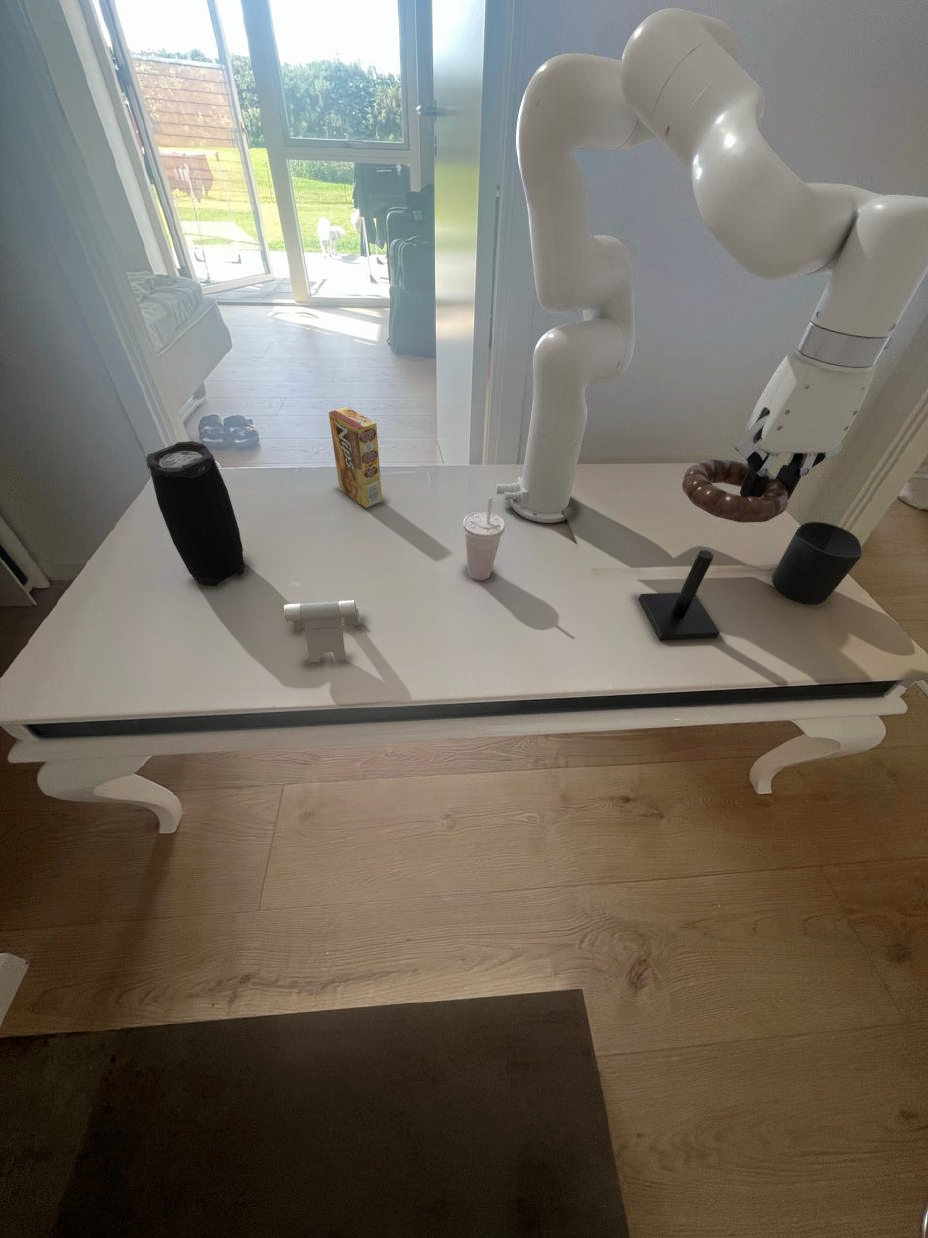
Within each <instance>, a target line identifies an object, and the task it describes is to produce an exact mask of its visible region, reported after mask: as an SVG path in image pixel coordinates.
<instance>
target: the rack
mask: <svg viewBox="0 0 928 1238" xmlns="http://www.w3.org/2000/svg"><path fill="white" fill-rule="evenodd" d="M714 557H715V556H714V553H712V552H711V551H710V550H707V549H706V550H705V549H702V550H699V551H698V553H697V555H696V557H695V560H694V562H693V564H692V565H691V569H690V570H689V573H688V575H687V577H686V579H685V581H684V583H683V585H682V588H681V590H680V592H659V593H658V592H656V593H640V594H639V596H638V601H639V603H640V606H641V607H642V610H643V611H644V613H645V616H646V617H647V619H648V621H649V624H650V625H651V627H652V629H653V631H654V633H655V635H656V637H657V639H658V641H675V640H678V641H679V640H703V639H717V638H718V636H719V635H720V630H719V629H718V627H717V626H716V624H715V623H714V621H713V619H712V618H711V616H710V615H709V613H708V612H707V610H706V608H705V607H704V605H703V604H702V602H701V600H700V599H699V597H698V595H696V594H697V592H698V590H699V588H700V586H701V584H702V583H703V581H704V578H705V576H706V574H707V572H708V570H709V567H710V566H711V564H712V562H713V560H714Z"/></svg>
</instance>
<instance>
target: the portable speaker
mask: <svg viewBox="0 0 928 1238" xmlns="http://www.w3.org/2000/svg"><path fill="white" fill-rule="evenodd" d="M146 462H147V463H146V466H147V468H148V469H149V471H150V476H151V479H152V480H151V481H152V484H153V489H154V492H155V497H156V502H157V505H158V507H159V510H160V513H161V515H162V518H163V520H164V524H165V525H166V529H167V530H168V533H169V535H170V538H171V540H172V543H173V545H174V547H175V548H176V551H177V552H178V555H179V557H180V558H181V560H182V562H183V563H184V565H185V567H186V569H187V571H188V572H189V574H190V575H191V577H192V578H193V580H194V582H196V583H198V584H200V585H201V586H205V587H217V586H218V585H219V584H220V583H221V582H223V581H225V580H227V579H229V578H231V577H233V576H235V575H239V576H241V575H242V574H244V572H245V567H246V564H245V561H244V548H243V543H242V538H241V533H240V528H239V524H238V521H237V518H236V515H235V510H234V507H233V504H232V501H231V497H230V494H229V490H228V488H227V486H226V483H225V481H224V478H223V476H222V474H221V472H220V469H219V467H218V465H217V462H216V460H215V458H214V456H213V454H212V453H211V451H210V450H209V449H208V447H207V446H206V445H205V444H204V443H201V442H197V441H194V440H193V441H191V440H190V441H188V440H187V441H178V442H176V443H174V444H173V445H170V446H169V445H168V446H167V447H164V448H162V449H160V450H157V451H155V452H151V453H148V454H147V456H146Z"/></svg>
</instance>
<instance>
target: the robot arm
mask: <svg viewBox="0 0 928 1238" xmlns="http://www.w3.org/2000/svg"><path fill="white" fill-rule="evenodd" d="M766 99H767V98H766V94H765V92H764V90H763V88H762V87H761V86H760V84H759V83H758V82H756V81H755V80H754V79H753V78H752V76H750V75H749V74H748V73H747V71H746V70H745V69H744V68H743V67H742V66H741V65H740V47H739V44H738V40H737V38H736V35H735V33H734V31H733V29H732V28H731V26H729V25H728V24H727V23H726V22H725V21H723V20H722V19H719V18H716V17H714V16H710V15H707V14H702V13H699V12H694V11H691V10H687V9H684V8H678V7H669V8H663V9H659V10H658V11H656V12H653V13H652V14H650V15H649V16H647V17H646V18H645V19H644V20H642V21H641V22H640V23H639V24H638V26H637V27H636V28H635V29H634V31H633V32H632V34H630V36H629V39H628V41H627V42H626V44H625V47H624V50H623V52H622V56H621V59H617V58H610V57H605V56H602V55H596V54H590V53H581V52H569V53H562V54H559V55H556V56H553V57H551V58H549V59H548V60H546V61H545V62H544V63H543V64H541V65H539V67H538V69H536V71H535V72H534V73H533V75H532V77H531V78H530V80H529V82H528V85H527V86H526V89H525V90H524V94H523V96H522V101H521V103H520V107H519V111H518V116H517V124H516V138H515V139H516V140H515V141H516V155H517V163H518V167H519V174H520V177H521V182H522V187H523V191H524V192H523V193H524V196H525V201H526V206H527V209H526V210H527V216H528V225H529V226H528V227H529V229H528V230H529V239H530V248H531V250H530V251H531V258H532V268H533V269H532V270H533V279H534V286H535V287H534V288H535V293H536V298H537V301H538V303H539V305H540V307H541V308H542V309H543V310H544V311H545V312H547V313H550V314H554V315H563V314H570V313H577V312H582V314H583V320H578V321H573V322H567V323H564V324H560V325H557V326H555V327H553V328H551V329H549V330H548V331H546V332H545V333H544V334H543V335H542V336H541V337H540V338H539V340H538V342H537V343H536V345H535V348H534V350H533V355H532V376H533V392H532V403H531V404H532V405H531V406H532V407H531V411H530V412H531V413H530V419H529V420H530V421H529V428H528V434H527V441H526V449H525V454H524V455H525V456H524V462H523V468H522V476H518V477H517V482H512V483H511V484H507V483H496V484H495V489H494V491H495V495H503V500H504V501H510V505H511V507H512V509H513V510H514V512H516V513H517V514H518V515H519V516H521V517H523V518H525V519H527V520H529V521H532V522H533V521H534V522H537V523H543V524H554V523H560V522H564V521H566V520H568V519H567V516H566V513H565V511H564V510H565V509H566V508H568V506H569V503H570V499H571V494H572V490H573V486H574V481H575V477H576V472H577V467H578V464H579V459H580V455H581V449H582V446H583V441H584V436H585V433H586V427H587V423H588V405H587V401H586V396H585V394H586V393H585V392H586V389H587V388H589V387H592V386H594V385H597V384H601V383H604V382H607V381H611V380H614V379H616V378H618V377H619V376H621V375H622V374H623V373H624V372H625V371H626V370H627V369H628V367H629V366H630V365H631V362H632V359H633V356H634V352H635V344H636V333H635V332H636V327H635V322H636V321H635V290H634V289H635V288H634V287H635V285H634V271H633V270H634V269H633V262H632V259H631V257H630V254H629V251H628V250H627V248H626V246H625V245H624V243H623V242H622V241H620V239H618V238H617V237H614V236H612V235H607V234H600V235H599V234H598V235H596V234H595V235H593V233H592V225H591V218H590V198H589V193H588V188H587V184H586V181H585V179H584V176H583V174H582V171H581V169H580V167H579V165H578V163H577V161H576V158H575V152H576V151H577V150H587V151H608V152H617V151H622V150H624V151H625V150H628V149H631V148H635V147H638V146H640V145H643V144H646V143H649V142H652V141H654V140H655V141H656V140H658V142H659V143H660V144H661V145H662V147H664V149H665V150H666V151H667V152H668V153H669V155H671V156H672V158H673V159H674V160H675V162H676V163H677V164H678V165H679V166H680V167H681V168H682V170H683V171H684V172H685V173H686V174H687V175H688V177H689V178H690V179H691V183H692V184H691V185H692V191H693V192H692V193H693V195H694V199H695V203H696V206H697V209H698V212H699V215H700V217H701V219H702V221H703V223H704V225H705V226H706V227H707V229H708V230H709V233H711V234H712V236H713V237H714V238H715V239H716V240H717V242H718V243H719V244H720V245H721V246H722V247H723V249H725V250H726V252H727V253H728V254H729V255H730V256H731V257H732V258H733V259H734V261H736V263H737V264H738V265H739V266H740V267H741V268H743V269H744V270H745V271H746V272H748V273H749V274H751V275H753V276H755V277H757V278H758V279H761V280H762V279H763V280H766V281H777V280H778V281H779V280H785V279H786V280H787V279H791V278H796V277H804V276H805V277H806V276H813V275H821V274H822V275H830V277H829V279H828V281H827V283H826V286H825V288H824V290H823V292H822V294H821V296H820V299H819V301H818V303H817V305H816V307H815V310H814V311H813V314H812V316H811V319H810V320H809V323H808V324H807V326H806V329H805V331H804V333H803V335H802V338H801V339H800V342H799V344H798V347H797V349H796V351H795V352H789V353H787V354H786V356H785V357H784V358H783V360H782V361H781V362H780V364H779V365H778V367H777V368H776V370H775V371H774V373H773V375H772V376H771V378H770V379H769V381H768V382H767V384H766V386H765V388H764V389H763V391H762V393H761V395H760V397H759V399H758V401H757V402H756V405H755V406H754V409H753V411H752V412H751V415H750V416H749V419H748V421H747V423H746V425H745V427H744V432H743V433H744V434H743V435H742V436H741V437H740V438H739V439H738V440H737V441H735V444H734V445H733V449H734V450H735V451H737V452H738V453H739V455H741V456H742V457H744V458H745V461H746V462H747V464H748V465H749V466H750V470H749V472H748V474H747V476H746V479H745V481H744V483H743V485H742V487H740V489H739V495H740V496H744V497H760V496H761V494H762V493H763V491H764V489H765V487H766V485H767V483H768V481H769V477H768V476H767V473H768V472H769V473H770V471H771V469H772V468H773V466H774V465H775V463H776V461H777V460H778V458H779V457H780V455H781V454H790V455H789V459H788V461H787V464H782V466H781V467H780V468H779V471H778V472H777V474H776V476H775V477H776V478H777V479H778V480H779V481H780V482H782V483H783V484H784V485H785V486H786V488H787V491H788V501H789V500H790V498H791V497H792V495H793V493H794V491H795V489H796V488H797V486H798V484H799V482H800V480H801V478H802V477H806V476H807V475H809V474H810V472H811V470H812V468H814V467H816V466H817V465H819V464H820V463H822V462H823V461H824V460H825V459H828V458H831V457H833V456H835V455H837V454H839V453H840V452H842V450H843V448H844V439H845V437H846V435H847V434H848V432H849V430H850V428H851V426H852V425H853V423H854V421H855V419H856V417H857V415H858V413H859V411H860V410H861V407H862V405H863V403H864V401H865V399H866V397H867V394H868V392H869V389H870V386H871V384H872V381H873V378H874V377H875V376H874V375H875V373H876V370H877V366H876V363H877V361H878V360H879V357H880V355H882V352H883V350H887V349H889V348H890V347H891V345H892V343H893V336H892V334H893V332H894V331H895V329H896V327H897V325H899V324H898V323H899V322H900V320H901V318H902V317H903V315H904V313H905V311H906V310H907V308H908V306H909V304H910V303H911V301H912V299H913V297H914V296H915V294H916V292H917V290H918V289H919V288H920V285H921V283H922V281H923V280H924V278H925V276H926V274H927V273H928V197H925V196H917V195H910V194H909V195H907V194H906V195H905V194H880V193H877V192H874V191H870V190H867V189H865V188H861V187H858V186H854V185H851V184H846V183H830V182H811V183H810V182H805V181H804V180H802V179H801V178H800V177H799V176H797V175H796V174H795V172H794V171H792V169H791V168H789V166H788V165H787V164H786V163H785V162H784V161H783V160H782V159H781V158H780V156H778V155H777V153H776V152H775V151H774V150H773V149H772V147H771V146H770V145H769V144H768V142H767V141H766V140H765V138H764V136H763V135H762V133H761V130H760V129H759V127H760V125H761V123H762V120H763V117H764V113H765V110H766ZM757 443H758V444H757ZM756 444H757V446H756V447H755V449H754V446H755V445H756Z"/></svg>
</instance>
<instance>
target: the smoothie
mask: <svg viewBox="0 0 928 1238" xmlns="http://www.w3.org/2000/svg"><path fill="white" fill-rule="evenodd" d="M487 499H488V501H487V509H486V511H474V512H472V513H469V514H468V515H466V516H465V517H464V518H463V523H462V530H463V533H464V538H465V551H466V565H467V575H468V576H469V577H470V578H471V579H473V580H475V581H485V580H487V579H488V578H489V579H490V576H491V573H492V569H493V566H494V564H495V563H494V562H495V559H496V556H497V552H498V548H499V545H500V542H501V538H502V536H503V535H504V533H505V527H506V522H505V521H504V519H503V518H502V517H501V516H500V515H497V514H495V513H492V505H493V497H492V496H489V497H488V498H487Z"/></svg>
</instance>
